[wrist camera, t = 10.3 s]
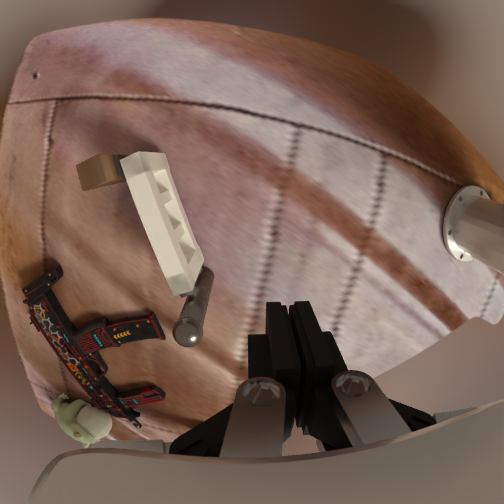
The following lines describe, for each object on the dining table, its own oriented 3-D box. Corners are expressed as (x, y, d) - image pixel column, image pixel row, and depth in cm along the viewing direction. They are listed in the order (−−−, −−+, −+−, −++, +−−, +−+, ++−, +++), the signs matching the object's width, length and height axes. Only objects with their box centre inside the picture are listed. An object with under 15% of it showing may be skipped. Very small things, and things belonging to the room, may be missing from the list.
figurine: (124, 426, 48) (112, 460, 38) (71, 419, 48) (56, 448, 39) (103, 395, 45) (86, 431, 35) (49, 390, 45) (31, 418, 36)
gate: (164, 153, 31) (138, 151, 23) (206, 264, 36) (195, 296, 27) (150, 159, 31) (119, 160, 23) (191, 269, 36) (177, 302, 27)
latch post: (149, 154, 32) (101, 152, 20) (154, 172, 33) (108, 179, 20) (130, 161, 32) (75, 165, 20) (135, 179, 33) (82, 191, 21)
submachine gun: (219, 416, 43) (113, 435, 44) (219, 402, 46) (118, 423, 48) (105, 239, 33) (7, 299, 34) (115, 232, 36) (19, 290, 37)
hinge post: (211, 263, 37) (194, 324, 23) (218, 282, 38) (205, 350, 24) (191, 269, 37) (164, 330, 23) (198, 287, 38) (176, 355, 24)
